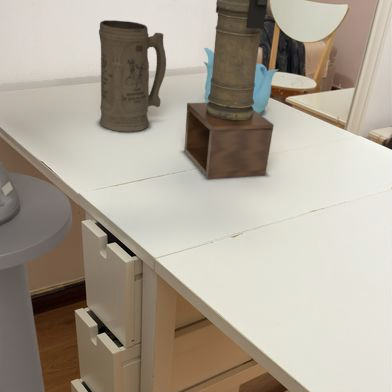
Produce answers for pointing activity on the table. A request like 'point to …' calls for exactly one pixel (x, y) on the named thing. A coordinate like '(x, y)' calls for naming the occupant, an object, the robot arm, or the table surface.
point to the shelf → (227, 143)
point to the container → (233, 63)
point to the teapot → (261, 82)
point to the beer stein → (128, 74)
